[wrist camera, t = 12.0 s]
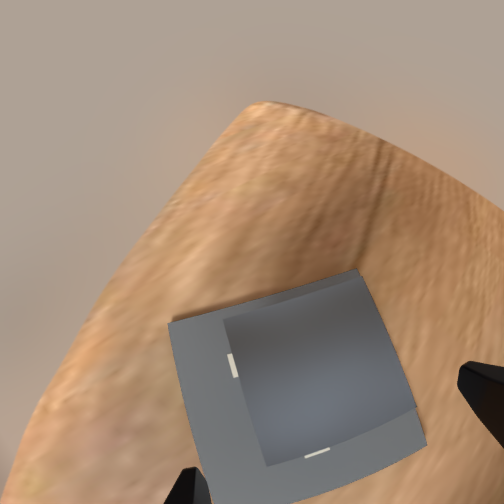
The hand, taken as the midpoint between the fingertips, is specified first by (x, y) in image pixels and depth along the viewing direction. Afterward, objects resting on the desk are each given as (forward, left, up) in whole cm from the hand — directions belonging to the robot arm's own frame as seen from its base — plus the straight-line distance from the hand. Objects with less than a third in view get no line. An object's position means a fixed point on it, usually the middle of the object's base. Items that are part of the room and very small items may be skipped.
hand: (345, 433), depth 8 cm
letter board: (+1, -2, -11) cm, 11 cm away
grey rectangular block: (+1, -2, -10) cm, 10 cm away
